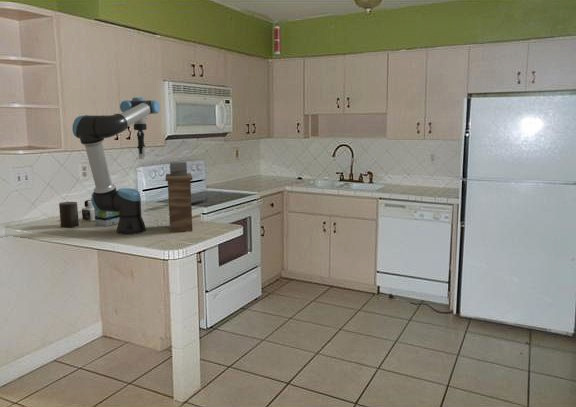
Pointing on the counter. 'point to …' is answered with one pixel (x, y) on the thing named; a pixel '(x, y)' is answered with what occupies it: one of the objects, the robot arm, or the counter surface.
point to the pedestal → (180, 202)
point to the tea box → (106, 218)
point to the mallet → (178, 168)
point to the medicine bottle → (88, 211)
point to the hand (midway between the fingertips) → (142, 158)
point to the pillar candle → (68, 214)
